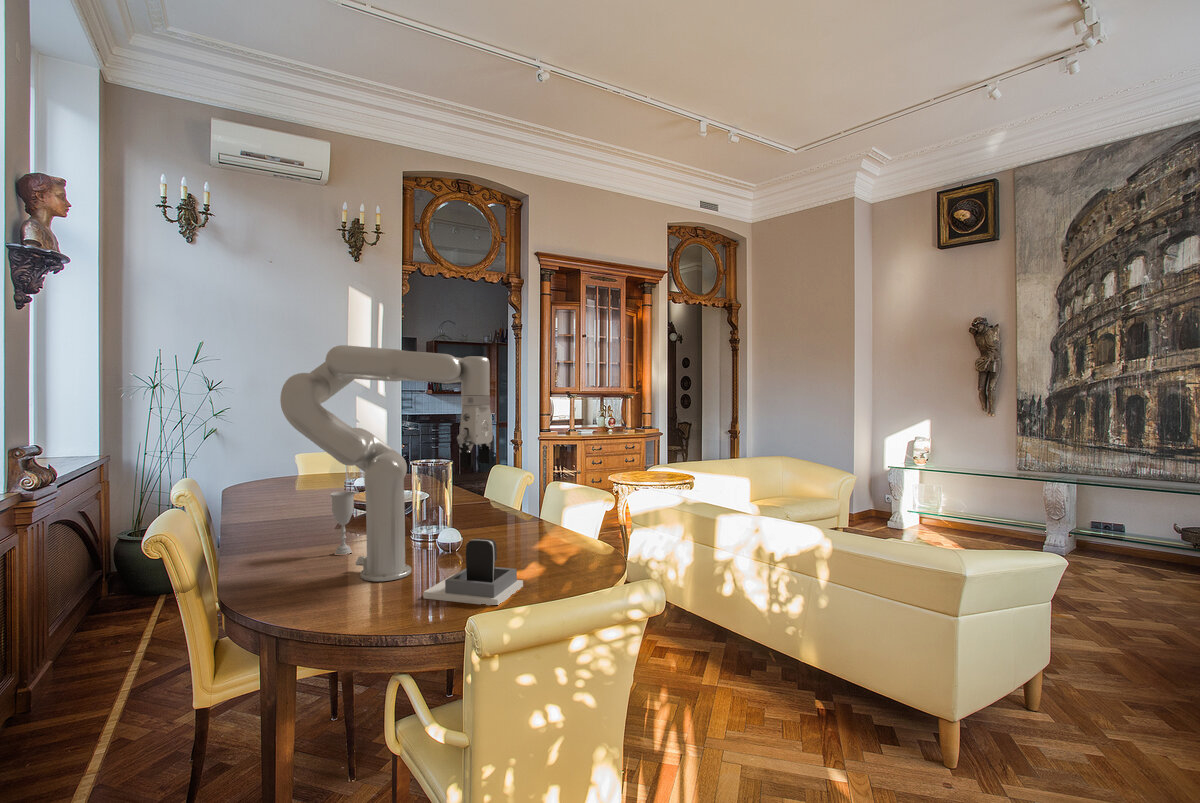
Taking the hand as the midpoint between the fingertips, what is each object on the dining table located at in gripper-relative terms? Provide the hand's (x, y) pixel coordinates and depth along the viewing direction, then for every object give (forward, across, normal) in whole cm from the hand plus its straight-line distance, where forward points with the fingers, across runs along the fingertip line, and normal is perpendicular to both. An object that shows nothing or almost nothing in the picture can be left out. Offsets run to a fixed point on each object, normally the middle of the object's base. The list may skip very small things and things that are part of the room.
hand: (475, 465), depth 162 cm
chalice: (+28, +2, +45) cm, 54 cm away
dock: (+28, -17, -9) cm, 34 cm away
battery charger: (+27, -17, -11) cm, 34 cm away
